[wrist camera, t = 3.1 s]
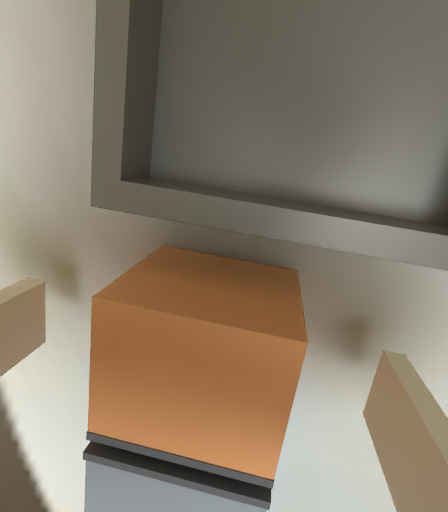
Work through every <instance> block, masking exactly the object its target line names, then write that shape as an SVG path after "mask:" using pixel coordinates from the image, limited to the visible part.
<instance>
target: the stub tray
mask: <svg viewBox="0 0 448 512" xmlns="http://www.w3.org/2000/svg"><path fill="white" fill-rule="evenodd" d="M91 206H93V207H99V208H104V209H110V210H115V211H121V212H127V213H132V214H138V215H143V216H149V217H154V218H160V219H165V220H171V221H177V222H182V223H188V224H193V225H199V226H204V227H210V228H216V229H221V230H227V231H232V232H238V233H243V234H249V235H254V236H260V237H266V238H271V239H277V240H282V241H288V242H293V243H299V244H304V245H310V246H316V247H321V248H327V249H332V250H338V251H343V252H349V253H355V254H360V255H366V256H371V257H377V258H382V259H388V260H393V261H399V262H405V263H410V264H416V265H421V266H427V267H432V268H438V269H443V270H448V0H97V1H96V37H95V73H94V109H93V145H92V181H91Z"/></svg>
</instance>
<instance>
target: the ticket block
mask: <svg viewBox="0 0 448 512" xmlns="http://www.w3.org/2000/svg"><path fill="white" fill-rule="evenodd" d="M83 460H86V477H85V510H84V512H266V510H269V508H270V504H271V488H267V487H263V486H260V485H256V484H252V483H248V482H244V481H241V480H237V479H233V478H229V477H226V476H222V475H218V474H214V473H210V472H207V471H203V470H199V469H195V468H192V467H188V466H184V465H180V464H177V463H173V462H169V461H165V460H161V459H158V458H154V457H150V456H146V455H143V454H139V453H135V452H131V451H127V450H124V449H120V448H116V447H112V446H109V445H105V444H101V443H97V442H93V441H91V442H90V443H89V445H88V446H87V447H86V449H85V450H84V452H83Z"/></svg>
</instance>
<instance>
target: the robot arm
mask: <svg viewBox="0 0 448 512" xmlns="http://www.w3.org/2000/svg"><path fill="white" fill-rule="evenodd" d="M43 343H45V281H41V280H36V279H32V278H26V279H24V280H21V281H19V282H17V283H15V284H13V285H11V286H8V287H6V288H4V289H2V290H0V377H1V376H2V375H3V374H5V373H6V372H7V371H8V370H10V369H11V368H12V367H14V366H15V365H16V364H17V363H19V362H20V361H21V360H23V359H24V358H25V357H27V356H28V355H29V354H30V353H32V352H33V351H34V350H36V349H37V348H38V347H39V346H41V345H42V344H43ZM363 415H364V418H365V421H366V424H367V426H368V429H369V432H370V435H371V438H372V441H373V444H374V447H375V450H376V452H377V455H378V458H379V461H380V464H381V467H382V470H383V473H384V476H385V479H386V481H387V484H388V487H389V490H390V493H391V496H392V499H393V502H394V505H395V507H396V510H397V512H448V418H447V417H446V415H445V414H444V412H443V411H442V409H441V408H440V406H439V405H438V403H437V402H436V400H435V399H434V397H433V396H432V394H431V393H430V391H429V390H428V388H427V387H426V385H425V384H424V382H423V381H422V379H421V378H420V376H419V375H418V373H417V372H416V370H415V369H414V367H413V366H412V364H411V363H410V361H409V360H408V358H407V357H406V355H403V354H398V353H393V352H388V351H383V352H382V355H381V359H380V362H379V365H378V368H377V371H376V374H375V377H374V380H373V383H372V386H371V390H370V393H369V396H368V399H367V402H366V405H365V408H364V411H363Z"/></svg>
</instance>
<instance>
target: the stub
mask: <svg viewBox="0 0 448 512" xmlns="http://www.w3.org/2000/svg"><path fill="white" fill-rule="evenodd" d="M307 344H308V341H307V334H306V327H305V320H304V313H303V306H302V299H301V292H300V285H299V278H298V271H296V270H291V269H286V268H280V267H275V266H270V265H264V264H259V263H254V262H249V261H243V260H238V259H233V258H227V257H222V256H217V255H212V254H206V253H201V252H196V251H190V250H185V249H180V248H174V247H169V246H164V245H163V246H162V247H160V248H159V249H158V250H156V251H155V252H153V253H152V254H151V255H149V256H148V257H147V258H145V259H144V260H142V261H141V262H140V263H138V264H137V265H136V266H134V267H133V268H131V269H130V270H129V271H127V272H126V273H125V274H123V275H122V276H120V277H119V278H118V279H116V280H115V281H114V282H112V283H111V284H109V285H108V286H107V287H105V288H104V289H103V290H101V291H100V292H98V293H97V294H96V295H94V296H93V297H92V318H91V349H90V381H89V412H88V431H87V437H86V440H90V441H93V442H97V443H101V444H105V445H109V446H112V447H116V448H120V449H124V450H127V451H131V452H135V453H139V454H143V455H146V456H150V457H154V458H158V459H161V460H165V461H169V462H173V463H177V464H180V465H184V466H188V467H192V468H195V469H199V470H203V471H207V472H210V473H214V474H218V475H222V476H226V477H229V478H233V479H237V480H241V481H244V482H248V483H252V484H256V485H260V486H263V487H267V488H271V489H272V488H273V484H274V476H275V472H276V468H277V464H278V460H279V456H280V452H281V448H282V444H283V440H284V436H285V432H286V428H287V424H288V420H289V416H290V412H291V408H292V404H293V400H294V396H295V392H296V388H297V384H298V380H299V376H300V372H301V368H302V364H303V360H304V356H305V352H306V348H307Z"/></svg>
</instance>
